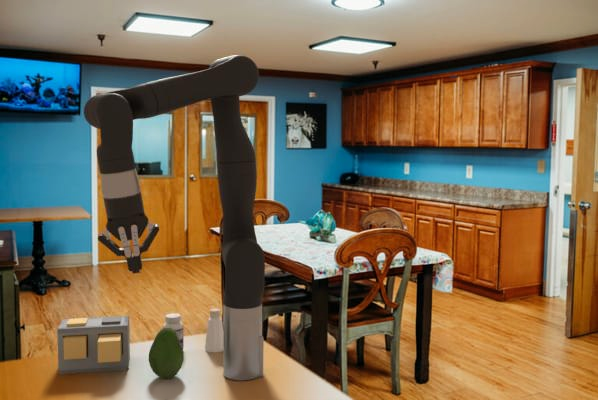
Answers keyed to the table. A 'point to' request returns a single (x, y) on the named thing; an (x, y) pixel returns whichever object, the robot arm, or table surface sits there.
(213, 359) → the table surface
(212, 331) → the pepper shaker
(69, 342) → the button
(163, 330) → the fruit
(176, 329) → the pill bottle
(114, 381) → the table surface
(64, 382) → the table surface
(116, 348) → the button
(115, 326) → the console
